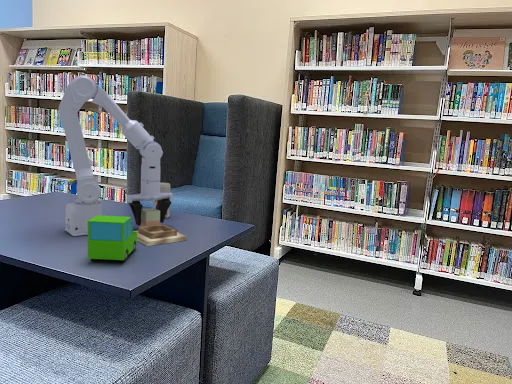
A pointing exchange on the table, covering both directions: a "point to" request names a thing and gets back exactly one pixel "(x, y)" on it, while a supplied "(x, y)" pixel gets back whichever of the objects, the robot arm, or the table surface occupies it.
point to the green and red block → (150, 217)
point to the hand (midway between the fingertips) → (149, 223)
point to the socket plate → (158, 235)
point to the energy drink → (164, 189)
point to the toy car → (111, 238)
